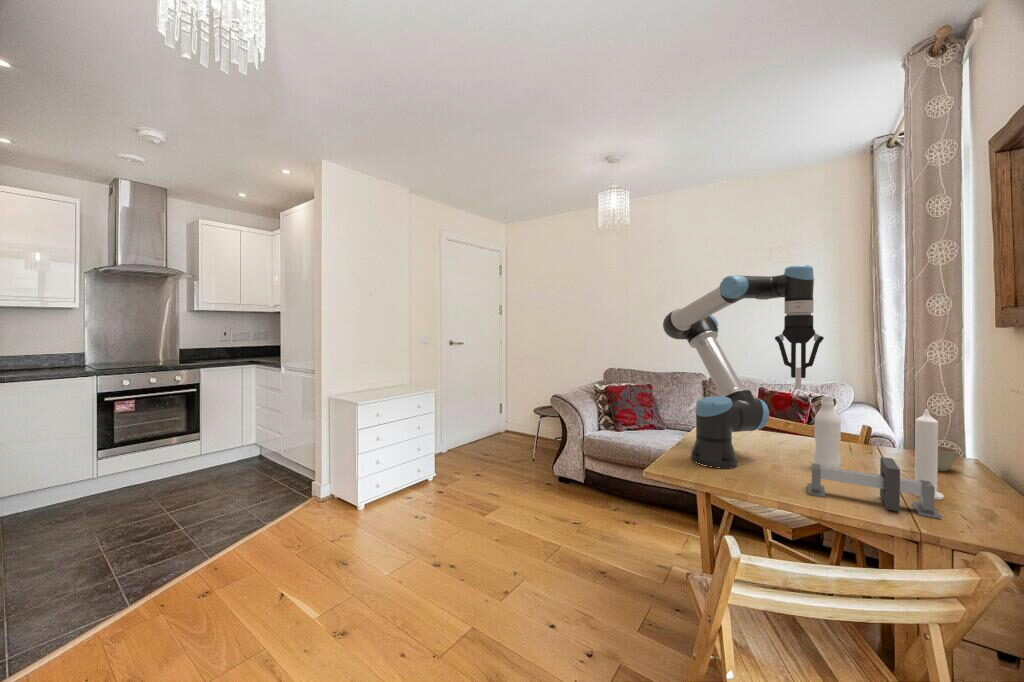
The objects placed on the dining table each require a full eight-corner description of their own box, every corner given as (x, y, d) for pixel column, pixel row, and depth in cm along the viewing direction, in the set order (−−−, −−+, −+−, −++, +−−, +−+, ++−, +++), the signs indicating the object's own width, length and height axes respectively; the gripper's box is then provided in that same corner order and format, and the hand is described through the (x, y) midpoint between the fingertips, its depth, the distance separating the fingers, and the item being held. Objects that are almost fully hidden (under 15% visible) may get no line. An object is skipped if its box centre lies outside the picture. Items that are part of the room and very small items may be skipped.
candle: (906, 487, 120) (907, 405, 119) (940, 493, 115) (942, 408, 115) (910, 495, 114) (911, 409, 114) (946, 501, 110) (947, 412, 109)
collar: (886, 509, 105) (886, 467, 104) (880, 495, 113) (880, 457, 113) (899, 511, 103) (900, 469, 103) (892, 497, 112) (892, 458, 112)
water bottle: (841, 474, 131) (841, 399, 130) (813, 470, 135) (814, 397, 135) (840, 468, 136) (840, 396, 136) (813, 464, 141) (814, 394, 140)
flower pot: (937, 464, 140) (938, 444, 140) (967, 474, 130) (967, 452, 130) (906, 463, 141) (907, 443, 141) (934, 473, 131) (934, 452, 131)
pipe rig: (807, 494, 116) (807, 467, 116) (807, 485, 122) (807, 460, 122) (941, 519, 100) (941, 488, 99) (933, 507, 106) (933, 479, 106)
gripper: (773, 314, 127) (773, 388, 128) (825, 313, 120) (824, 391, 120) (774, 315, 133) (774, 385, 134) (824, 314, 126) (823, 388, 126)
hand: (798, 388), depth 127 cm, fingers closed
